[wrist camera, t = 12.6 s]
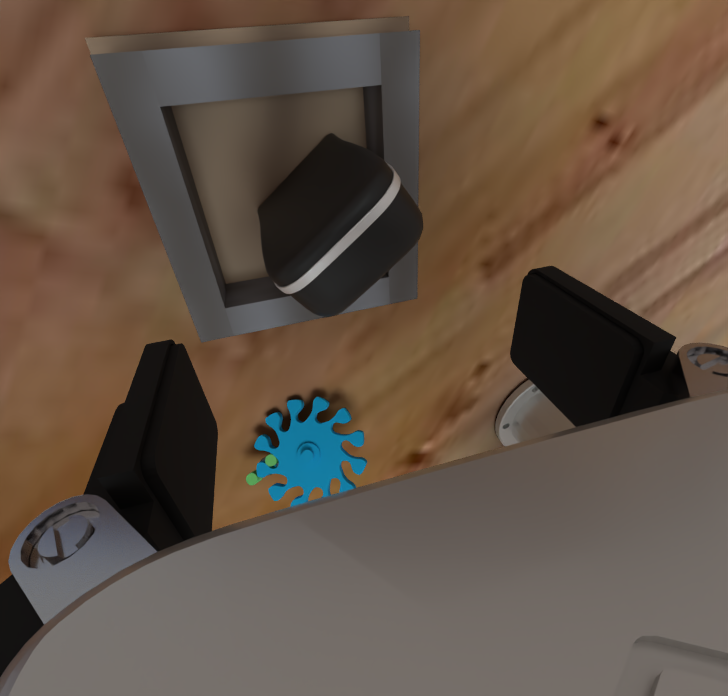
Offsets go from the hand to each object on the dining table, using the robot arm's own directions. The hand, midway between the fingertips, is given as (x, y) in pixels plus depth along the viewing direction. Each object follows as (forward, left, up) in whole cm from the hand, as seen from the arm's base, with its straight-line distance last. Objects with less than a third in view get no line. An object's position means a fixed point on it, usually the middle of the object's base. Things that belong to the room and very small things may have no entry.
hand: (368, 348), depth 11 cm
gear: (+3, +21, -19) cm, 28 cm away
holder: (0, 0, -18) cm, 18 cm away
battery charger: (-1, 0, -17) cm, 17 cm away
